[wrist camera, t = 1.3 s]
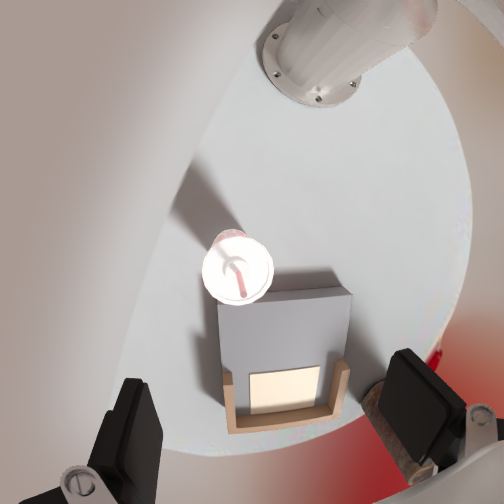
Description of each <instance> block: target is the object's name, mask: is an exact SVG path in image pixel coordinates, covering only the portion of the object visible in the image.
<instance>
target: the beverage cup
mask: <svg viewBox="0 0 504 504" xmlns="http://www.w3.org/2000/svg"><path fill="white" fill-rule="evenodd" d="M273 274H274V268H273V261H272V258H271V256H270V255H269V253H268V251H267V250H266V248H265V247H264V246H263V245H262V244H260V243H259V242H257V241H256V240H254V239H253V238H251V237H249V236H248V235H246V234H245V233H243V232H242V231H240V230H236V229H229V230H225V231H223V232H221V233H220V234H218V236H217V237H216V239H215V240H214V242H213V244H212V247H211V248H210V250H209V251H208V253H207V254H206V256H205V258H204V262H203V267H202V277H203V281H204V285H205V287H206V288H207V290H208V291H209V292H210V294H211V295H212V296H213V297H214V298H216V299H217V300H219V301H221V302H222V303H224V304H230V305H236V306H239V305H244V304H249V303H252V302H254V301H255V300H257V299H259V298H260V297H262V296H263V295H264V294H265V292H266V291H267V289H268V288H269V287H270V285H271V282H272V278H273Z"/></svg>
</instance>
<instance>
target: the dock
mask: <svg viewBox="0 0 504 504" xmlns="http://www.w3.org/2000/svg"><path fill="white" fill-rule="evenodd" d="M352 295H353V294H351V293H350V292H349V291H348V290H347V289H345V288H344V287H343V286H339V287H328V288H316V289H303V290H290V291H275V292H265V294H264V295H263V296H262V297H260V298H259V299H257V300H255V301H254V302H252V303H249V304H244V305H239V306H236V305H230V304H224V303H222V302H221V301H219V300H217V309H218V324H219V338H220V351H221V363H222V375H223V389H224V400H225V409H226V419H227V428H228V434H238V433H251V432H261V431H270V430H278V429H285V428H292V427H298V426H304V425H309V424H315V423H320V422H325V421H329V420H334V419H338V418H339V416H340V413H341V409H342V405H343V401H344V397H345V392H346V388H347V384H348V379H349V374H350V370H351V369H350V368H349V367H348V365H347V364H346V362H345V361H344V360H343V358H344V352H345V346H346V340H347V333H348V326H349V319H350V312H351V304H352Z"/></svg>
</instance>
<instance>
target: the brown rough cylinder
mask: <svg viewBox="0 0 504 504" xmlns="http://www.w3.org/2000/svg"><path fill="white" fill-rule="evenodd" d="M384 381H385V380H384ZM384 381H380V382H379V383H377V384H376V385H374V387H373V388H371V390H370V391H369V393H368V394H367V395H366V396H365V398H364V399H363V401H362V403H361V405H362V409H363V411H364V412H365V414H366V416H367V417H368V419H369V420H370V422H371V424H372V425H373V427H374V428H375V430H376V432H377V433H378V435H379V437H380V438H381V440H382V441H383V443H384V444H385V446H386V448H387V449H388V451H389V453H390V454H391V456H392V457H393V459H394V461H395V463H396V464H397V466H398V467H399V469H400V471H401V472H402V474H403V476H404V478H405V479H406V481H407V483H408V484H409V485H416V484H419V483H421V482H423V481H425V480H427V479H429V478H430V477H432V475H433V470H434V465H435V464H434V462H433V461H432V462H431V463H429V464H427V465H425V466H423V467H420V466H419V464H418V463H415V462H414V461H413V460H412V458H411V457H410V455H409V454H408V452H407V451H406V449H405V448H404V446H403V445H402V443H401V442H400V440H399V439H398V437H397V436H396V434H395V433H394V431H393V430H392V429H391V427H390V426H389V424H388V423H387V421H386V420H385V418H384V417H383V415H382V414H381V412H380V411H379V409H378V400H379V397H380V394H381V391H382V388H383V385H384Z"/></svg>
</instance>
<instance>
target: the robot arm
mask: <svg viewBox="0 0 504 504" xmlns="http://www.w3.org/2000/svg"><path fill="white" fill-rule="evenodd" d="M456 1H457V2H458V3H459V4H460V5H462V6H463V7H465V8H466V9H467V10H468V11H469V12H470V13H471V14H472V15H473V16H474V17H475V18H476V19H477V20H478V21H479V22H480V23H481V25H482V26H483V27H484V28H485V29H486V30H487V31H488V32H489V33H490V34H491V36H492V37H493V38H494V39H495V40H496V41H497V43H498V44H499V45H500V46H501V47H502V48H503V49H504V0H456ZM436 16H437V0H301V1H300V2H299V5H298V7H297V9H296V11H295V13H294V14H293V16H292V18H291V20H290V22H287V23H283V24H282V25H280V26H278V27H276V28H275V29H274V30H273V31H272V32H271V33H270V34H269V36H268V37H267V39H266V41H265V43H264V47H263V51H262V61H263V65H264V69H265V71H266V73H267V75H268V77H269V79H270V80H271V81H272V83H273V84H274V85H275V86H276V87H277V88H278V89H279V90H280V91H281V92H282V93H283V94H285V95H286V96H288V97H289V98H291V99H293V100H295V101H297V102H299V103H302V104H305V105H308V106H313V107H330V106H335V105H338V104H340V103H342V102H344V101H346V100H347V99H349V98H350V97H351V96H352V95H353V94H354V93H355V92H356V91H357V89H358V87H359V85H360V82H361V76H362V74H363V73H365V72H366V71H368V70H370V69H371V68H373V67H374V66H376V65H377V64H379V63H381V62H382V61H384V60H385V59H387V58H389V57H390V56H392V55H393V54H395V53H397V52H398V51H400V50H402V49H403V48H405V47H407V46H409V45H410V44H412V43H413V42H415V41H417V40H418V39H420V38H422V37H423V36H424V35H426V34H427V33H428V32H429V31H430V30H431V28H432V26H433V25H434V23H435V20H436ZM273 38H274V39H273ZM274 75H276V76H278V78H277V77H275V76H274ZM315 99H317V100H318V102H317V101H316V100H315ZM466 405H467V404H466V403H465V402H464V401H463V400H462V399H461V398H460V397H459V396H458V395H457V394H456V393H455V392H454V391H453V390H452V389H451V388H450V387H449V386H448V385H447V384H446V383H445V382H444V381H443V380H442V379H441V378H440V377H439V376H438V375H437V374H436V373H435V372H434V371H433V370H432V369H431V368H430V367H429V366H428V365H427V364H425V363H424V362H423V361H422V360H421V359H420V358H419V357H418V356H417V355H416V354H415V353H414V352H413V351H412V350H411V349H409V348H406V349H403V350H399V351H396V352H395V353H394V355H393V356H392V357H391V360H390V364H389V367H388V371H387V374H386V378H385V381H384V385H383V388H382V391H381V394H380V397H379V400H378V409H379V411H380V412H381V414H382V415H383V417H384V418H385V420H386V421H387V423H388V424H389V426H390V427H391V429H392V430H393V431H394V433H395V434H396V436H397V437H398V439H399V440H400V442H401V443H402V445H403V446H404V448H405V449H406V451H407V452H408V454H409V455H410V457H411V458H412V460H413V461H414V462H415V463H418V464H419V466H420V467H423V466H425V465H427V464H429V463H431V462H432V461H433V462H434V464H435V465H434V470H433V475H432V477H430V478H429V479H427V480H425V481H423V482H421V483H419V484H417V485H415V486H413V487H411V488H409V489H406V490H404V491H402V492H400V493H397V494H395V495H393V496H391V497H388V498H385V499H383V500H380V501H378V502H375V503H373V504H504V419H498V418H496V414H495V412H494V410H493V409H492V408H491V407H489V406H487V405H485V404H481V403H480V404H474V405H472V406H470V407H469V408H468V410H466V409H465V407H466ZM162 441H163V430H162V427H161V424H160V421H159V418H158V416H157V413H156V410H155V407H154V403H153V400H152V397H151V394H150V391H149V387H148V384H147V383H143V381H142V379H138V378H126V379H125V380H124V382H123V385H122V388H121V390H120V393H119V395H118V398H117V401H116V403H115V406H114V409H113V411H112V410H108V411H107V412H106V414H105V416H104V419H103V422H102V424H101V427H100V430H99V432H98V435H97V438H96V441H95V444H94V447H93V450H92V453H91V455H90V458H89V461H88V464H87V466H80V465H77V466H73V467H70V468H68V469H67V470H66V471H65V472H64V473H63V474H62V476H61V478H60V486H59V487H57V488H55V489H52V490H50V491H47V492H45V493H42V494H39V495H37V496H34V497H31V498H29V499H26V500H23V501H22V502H20V503H19V504H155V498H156V489H157V479H158V471H159V463H160V456H161V448H162Z"/></svg>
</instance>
